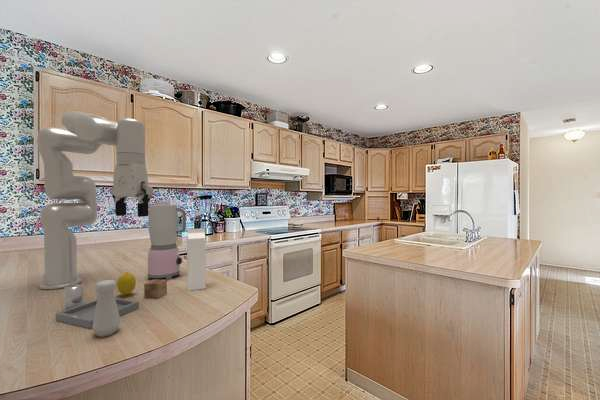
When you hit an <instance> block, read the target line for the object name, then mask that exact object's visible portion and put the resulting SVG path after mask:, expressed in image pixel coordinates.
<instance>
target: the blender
mask: <svg viewBox="0 0 600 400" xmlns="http://www.w3.org/2000/svg"><path fill="white" fill-rule="evenodd" d="M179 213H180V214H181V228H179ZM147 217H148V218H147V219H148V220H147V221H148V222H147V223H148V225H147V226H148V233H149V240H150V249H149V250H148V253H147V279H148V280H151V279H163V278H165V280H167V281H170V280H172V279H173V277H174V276H180V275H181V273H180V271H181V270H180V265H181V264H182V263H183V259H182V257H181V256H180V250H179V248H178V246H177V238H178V234H180V233H184V232H185V231H186V229H187V212H186V211H185V210H184V208H180V207H178V204H174V203H172V204H171V201H156V204H148V216H147Z"/></svg>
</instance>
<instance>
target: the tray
mask: <svg viewBox="0 0 600 400" xmlns="http://www.w3.org/2000/svg"><path fill="white" fill-rule="evenodd" d="M115 300H116V304H117V308H118V312H119V316H120V317H122V316H124V315H126V314H128V313H131V312H134V311H135V310H138V309H139V308H140V303H139V301H135V300H129V299H124V298H119V297H115ZM96 304H97V299H95V300H91V301H88V302H86V303H85V302H84V304H82V305H79V306H76V307H74V308H71V309H68V310H65V309H64V310H62V311H59V312H55V322H60V323H64V324H69V325H72V326H77V327H81V328H85V329H90V330H91V329H93V328H92V325H93V320H94V315H95V309H96Z"/></svg>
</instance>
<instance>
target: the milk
mask: <svg viewBox="0 0 600 400" xmlns="http://www.w3.org/2000/svg"><path fill="white" fill-rule="evenodd" d="M186 238H187V239H186V244H187V245H186V252H187V253H186V255H187V256H186V257H187V258H186V261H187V262H186V264H187V265H186V269H187V270H186V271H187V276H186V277H187V278H186V279H187V289H188V291H189V292H190V291H198V290H202V289H203V290H204V289H206V288H207V268H206V267H207V264H206V263H207V260H206V259H207V257H206V256H207V255H206V254H207V253H206V252H207V249H206V247H207V246H206V239H207V238H206V234H205V228H203V227H202V228H188V229H187V235H186Z"/></svg>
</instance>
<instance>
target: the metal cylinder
mask: <svg viewBox="0 0 600 400" xmlns="http://www.w3.org/2000/svg"><path fill="white" fill-rule="evenodd" d="M82 304H85V302H84V284H83V283H79V284H74V285H69V286H66V287H64V311H65V310H68V309H71V308H74V307H76V306H79V305H82Z"/></svg>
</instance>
